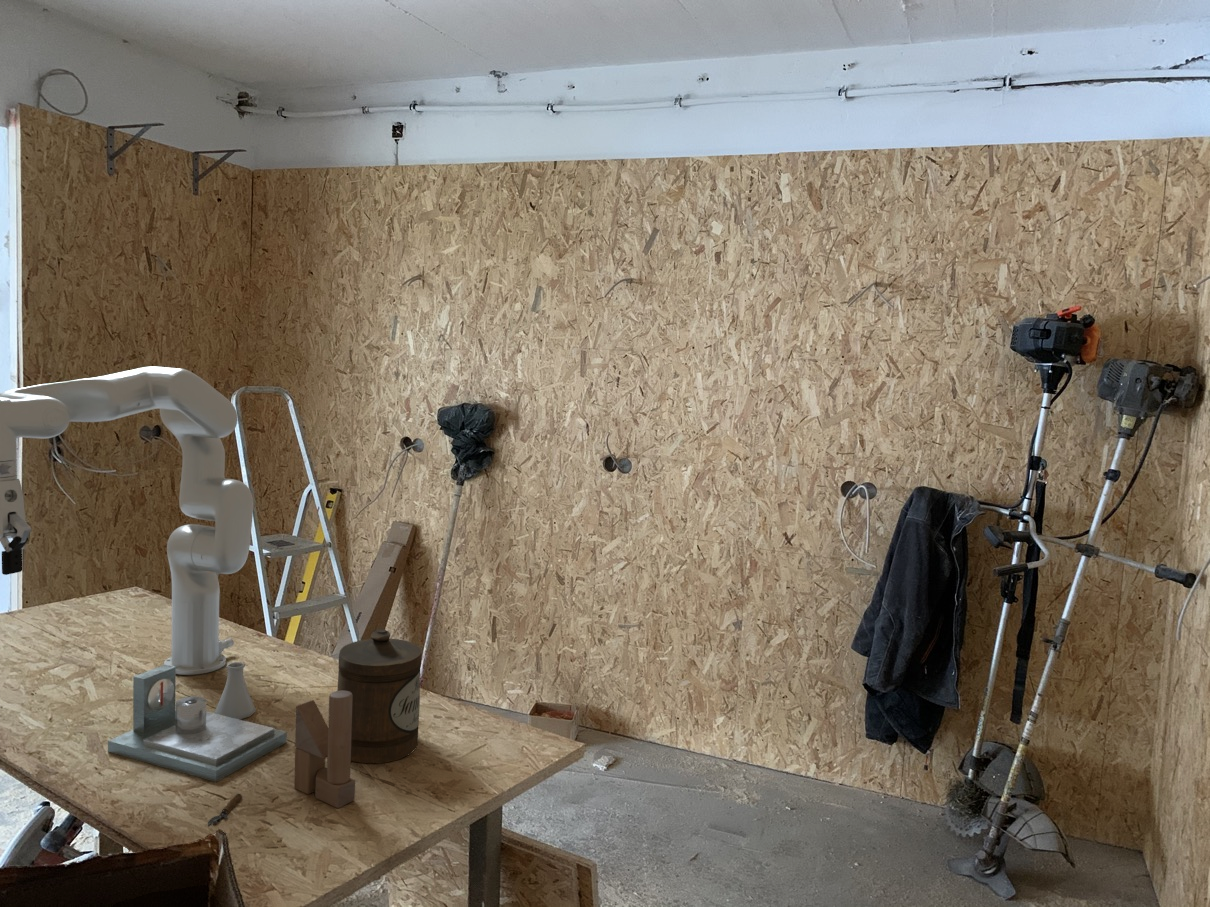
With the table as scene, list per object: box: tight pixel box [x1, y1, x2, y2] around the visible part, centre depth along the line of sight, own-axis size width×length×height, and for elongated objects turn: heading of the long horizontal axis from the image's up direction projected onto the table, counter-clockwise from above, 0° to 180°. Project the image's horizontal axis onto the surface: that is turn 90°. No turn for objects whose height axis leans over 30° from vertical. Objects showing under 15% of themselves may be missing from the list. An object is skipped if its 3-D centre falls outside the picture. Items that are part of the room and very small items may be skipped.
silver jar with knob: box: [175, 696, 207, 735], centre depth 160 cm, size 5×5×5 cm
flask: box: [214, 661, 257, 720], centre depth 174 cm, size 7×7×10 cm
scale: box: [107, 665, 288, 783], centre depth 159 cm, size 17×24×12 cm
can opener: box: [207, 793, 243, 827], centre depth 138 cm, size 9×2×1 cm, turn 172°
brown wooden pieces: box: [293, 690, 356, 809], centre depth 144 cm, size 4×11×18 cm, turn 57°
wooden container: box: [336, 628, 422, 764], centre depth 163 cm, size 15×15×22 cm
